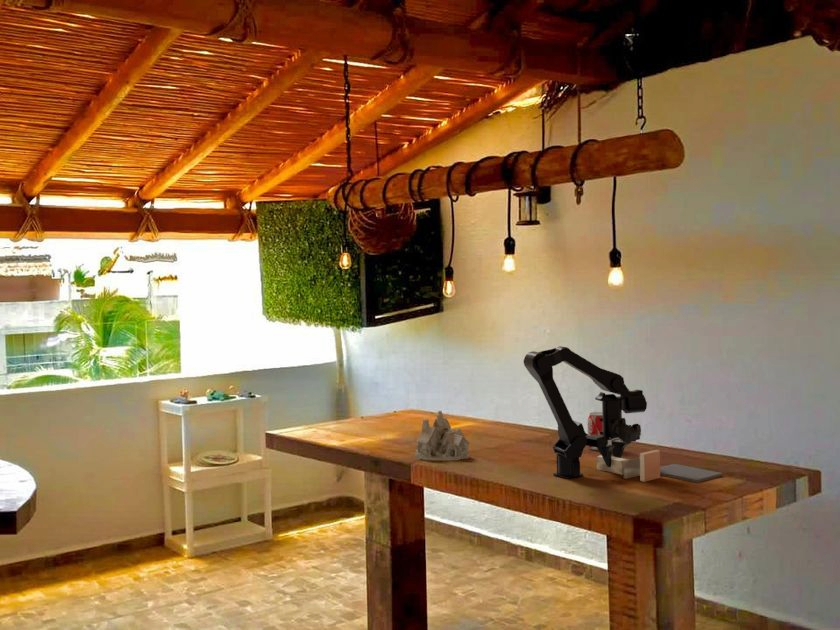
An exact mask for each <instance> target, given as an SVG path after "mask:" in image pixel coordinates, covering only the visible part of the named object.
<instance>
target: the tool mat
mask: <svg viewBox="0 0 840 630" xmlns="http://www.w3.org/2000/svg"><path fill="white" fill-rule="evenodd" d="M660 476H663V477H668V478H673V479H677V480H681V481H682V480H683V481H687V482H692V483H702V482H705V481H708V480H713V479H716V478H720V477H723V472H718V471H714V470H708V469H704V468H703V469H702V468H698V467H693V466H687V465H683V464H677V463H671V464H669V465H668V464H667V465H665V466H660Z"/></svg>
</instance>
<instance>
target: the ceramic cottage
mask: <svg viewBox="0 0 840 630" xmlns="http://www.w3.org/2000/svg"><path fill="white" fill-rule="evenodd" d="M416 443H417V446H416V448H417V449H416V450H415V453H414V456H415V458H414V459H416V458H417V459H416V460H420V459H422V460H423V461H452V460H453V461H461V460H460V459H462V460H464V459H469V458H470V455H469V445H470V441H469V440H468V439H466V438H465V436H464V433H463V432H462V429H461V428H459V427H458V428H457V429H455V428H452V426H451V424H450V422H449V420H448V418H447V417H444V415H443V412H442V410H438V411H437V414H436V418H434V422H433V425H432V426H431V425H430V423H429V419H428V418H425V419H423V420H422V427H421V432H420V434H419V436H418V437H417V439H416Z"/></svg>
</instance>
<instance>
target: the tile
mask: <svg viewBox="0 0 840 630" xmlns="http://www.w3.org/2000/svg"><path fill="white" fill-rule="evenodd" d="M660 451H661V450H660V449H654V450H649V451H645V452H639V457H640V475H639V476H640V477H639V478H640V479H639V481H640V482H645V483H646V482H649V481H652V480H656V479H660V478H661V475H660V467H661V452H660Z"/></svg>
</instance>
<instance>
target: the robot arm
mask: <svg viewBox="0 0 840 630" xmlns="http://www.w3.org/2000/svg"><path fill="white" fill-rule="evenodd" d="M561 363H565V364H566V365H568V366H570V367H571V368H573V369H575V370H576V371H578V372H580V373H581V374H582V375H584V376H587V377H588V378H590V379H591V380H592V382H593V383H594V384H595V385H596V386H597V387H598V388H600V389H601V390H602V391H604V392H602V391H600V392H599V394H598V395H597V396H595V400H596V401H600V402H601V405H602V406H601V407H602V408H601V409H602V417H601V418H599V419H600V421H602V422H603V431H600V435H595V434H594V435H589V436H588V433H586V431H585V428H584V425H583V423H582V422H578V421H576V420H573V418H572V416H571V414H570V412H569V409H568V407H567V405H566V403H565V401H564V398H563V396H562V395H561V392H560V390H559V387H558V385H557V383H556V381H555V379H554V370H553V369H554V368H553V367H555V366H557V365H559V364H561ZM523 365H524V367H525V368H526V370H527V371H528V374H530V375H531V376H532V378H533V379H534V380H535V381H536V382H537V383H538V385H539V387H540V389H541V391H542V394H543V395H544V397H545V400H546V402H547V404H548V406H549V408H550V410H551V414H552V415H553V416H554V419H555V421H556V424H557V433H558V440H557V441H556V442H555V443H554V444H553V445H552V449H553V451H554V452H553V453H555V454H556V472H554V473H552V474H553V476H555V477H559V478H563V479H574V478H578V477H582V476H584V473H581V461H580V458H582V455H583V452H584V449H585V447H586V446H587V447H589V446H592V447H597V448H598V450H597V451H599V454H600V455H602V457H603V459H604V461H605V463H606V465H607V467H611V457H612V456H613V457H618V458H622V456H623V454H624V451H625V448H627V446H629V445H631V443H632V442H635V443H636V441H638V440H641V435H642V428H641V425H640V424H639V423H633V424H627V421H626V418H625V417H623V415H622V414H623V413H625V414H635V413H636V414H637V413H644V412H646V411H647V407H648V401H646V400H647V399H646V397H645V395H644V391H643V390H642V389H635V390H630V389H629V387H627V385H626V383H625V380H624V377H623V376H622V375H621V374H618V373H616V372H613V371H610V370H607V369H604V368H601V367H600V366H597V364H594V363H593V362H591V361H589V360H587V359H585V358H584V357H583V356H581V355H579V354H577V353H576V352H574V351H573V350H571V349H570V348H569V347H567V346H561V345H560V346H556V347H555V348H551V349H546V350H541V351H533V350H532V351H529V352H528V353H526V354H525V356H524V359H523ZM605 392H607V394H606V393H605ZM608 392H609V393H610V394H609V393H608ZM616 395H620V396H616ZM601 435H603V436H601Z"/></svg>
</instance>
